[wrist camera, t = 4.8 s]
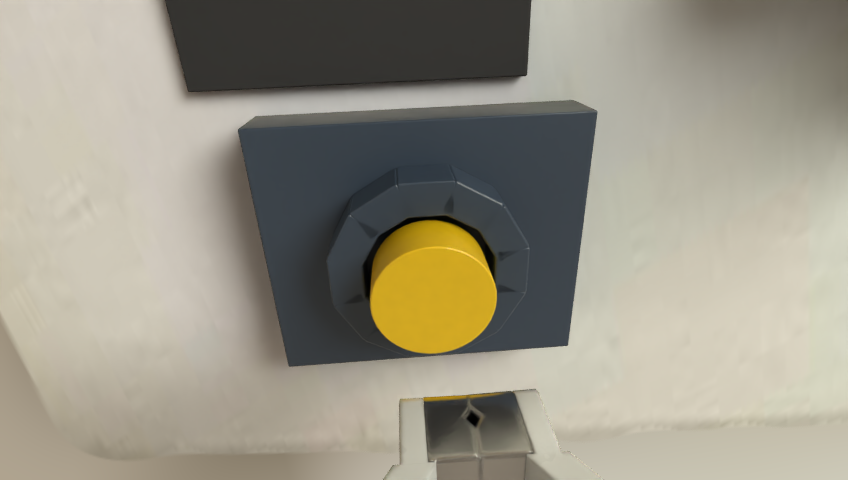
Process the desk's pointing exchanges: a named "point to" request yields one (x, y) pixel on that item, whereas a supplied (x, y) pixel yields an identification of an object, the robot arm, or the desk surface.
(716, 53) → the desk surface
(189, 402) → the desk surface
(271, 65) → the mat
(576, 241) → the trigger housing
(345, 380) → the desk surface
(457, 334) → the cylinder
